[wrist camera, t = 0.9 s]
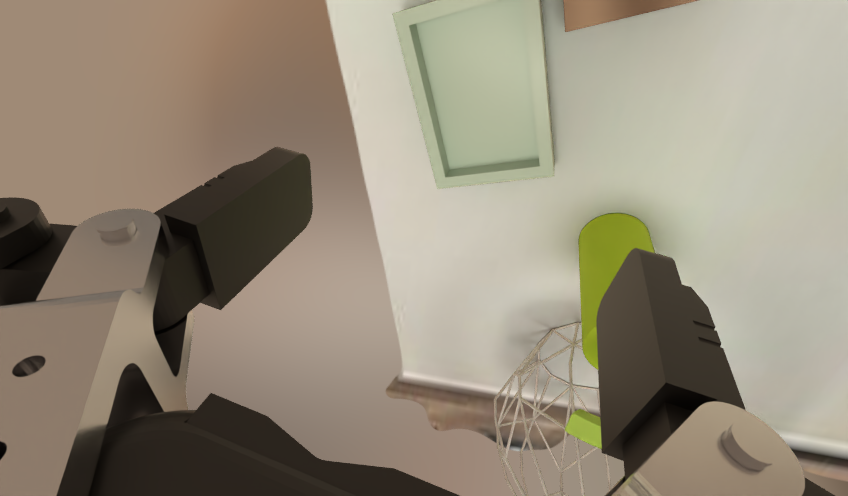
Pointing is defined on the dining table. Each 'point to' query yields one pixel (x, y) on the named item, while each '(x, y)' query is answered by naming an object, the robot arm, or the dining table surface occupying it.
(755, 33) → the dining table surface
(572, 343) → the table lamp
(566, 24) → the hitch block
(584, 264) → the soap dispenser
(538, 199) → the dining table surface
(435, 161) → the tray
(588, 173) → the dining table surface
